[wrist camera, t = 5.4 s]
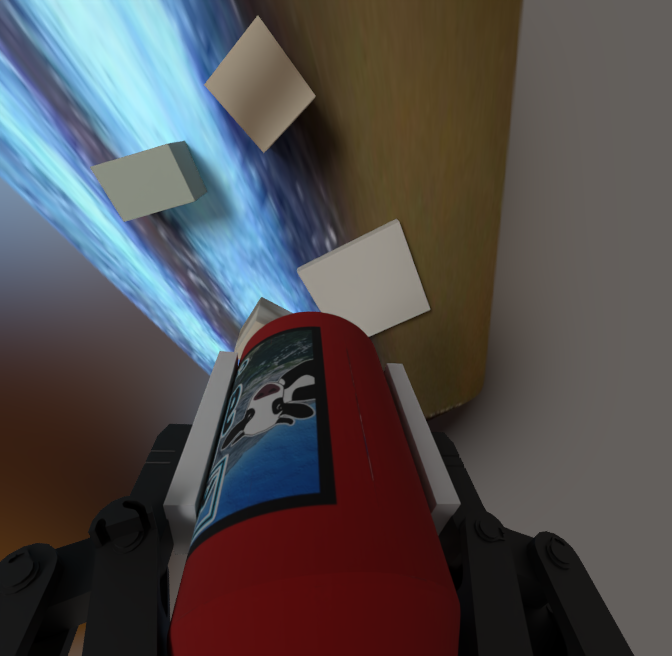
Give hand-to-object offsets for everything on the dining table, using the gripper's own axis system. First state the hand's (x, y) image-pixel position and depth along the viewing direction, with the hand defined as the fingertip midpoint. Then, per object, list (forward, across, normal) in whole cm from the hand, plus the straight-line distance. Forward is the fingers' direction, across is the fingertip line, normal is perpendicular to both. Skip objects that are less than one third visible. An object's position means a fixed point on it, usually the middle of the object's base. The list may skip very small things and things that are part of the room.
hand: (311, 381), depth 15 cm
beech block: (+20, -4, +12) cm, 23 cm away
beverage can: (+2, 0, 0) cm, 2 cm away
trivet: (+20, +7, -4) cm, 21 cm away
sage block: (+20, -13, +4) cm, 24 cm away
